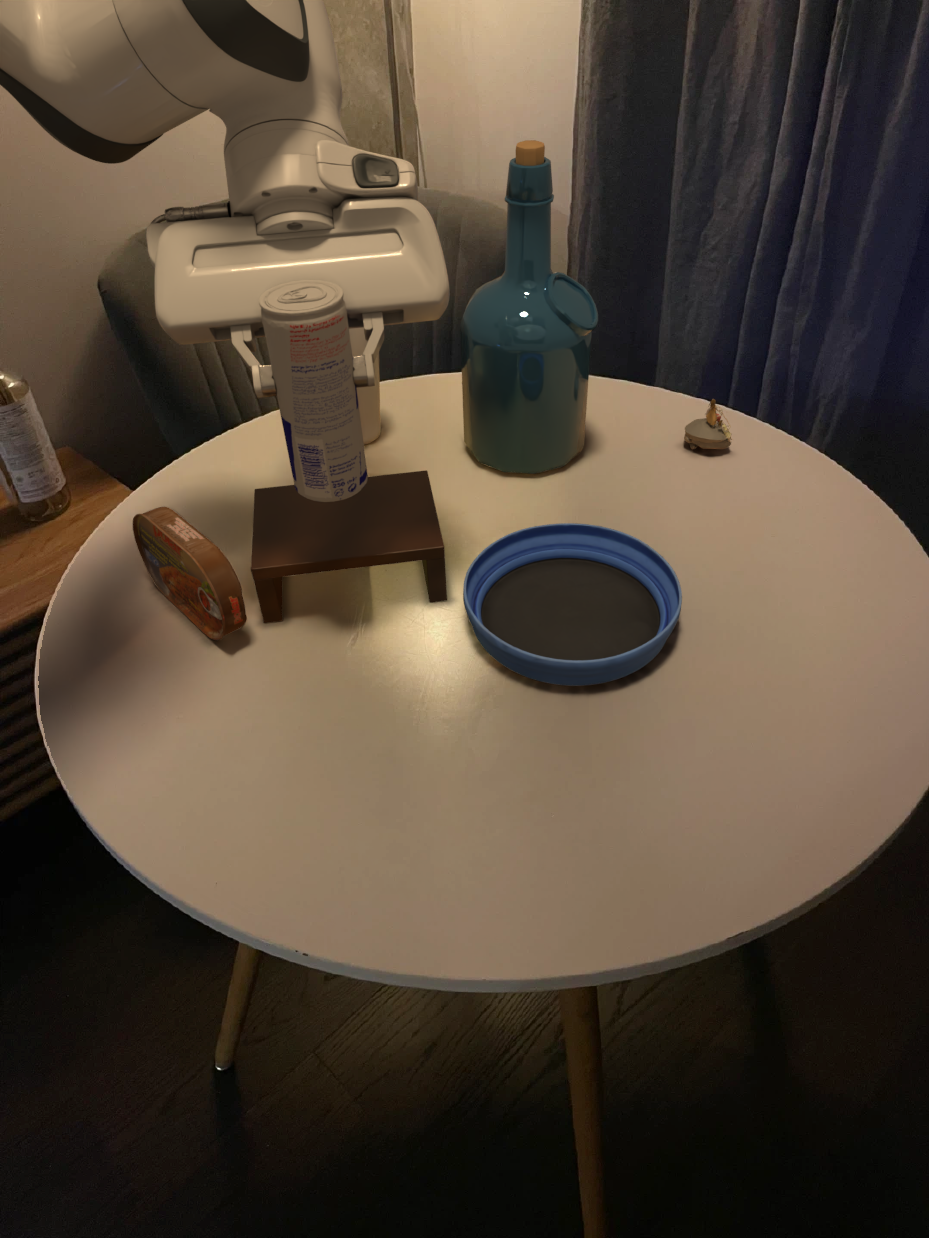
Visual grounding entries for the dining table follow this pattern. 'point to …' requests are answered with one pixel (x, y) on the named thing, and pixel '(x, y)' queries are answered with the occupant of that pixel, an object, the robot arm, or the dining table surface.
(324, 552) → the shelf
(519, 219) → the wine bottle
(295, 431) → the beverage can
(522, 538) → the bowl
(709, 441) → the figurine
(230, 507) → the dining table surface
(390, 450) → the dining table surface
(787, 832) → the dining table surface
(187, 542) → the tin
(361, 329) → the drinking glass
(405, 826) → the dining table surface
